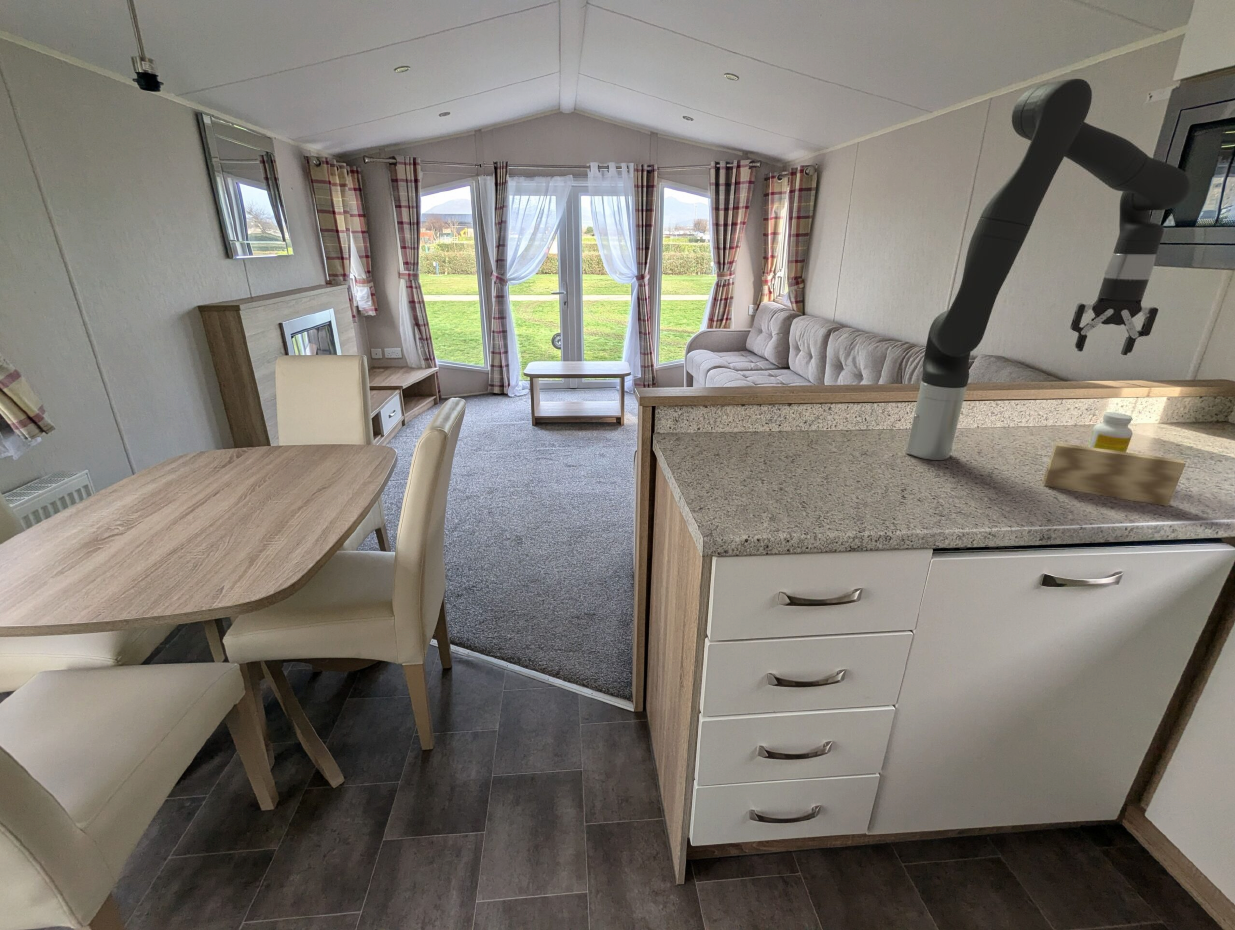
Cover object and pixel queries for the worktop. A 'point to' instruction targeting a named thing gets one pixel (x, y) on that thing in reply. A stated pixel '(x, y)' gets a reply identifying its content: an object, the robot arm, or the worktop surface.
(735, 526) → the worktop surface
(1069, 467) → the wall board
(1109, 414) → the supplement bottle
